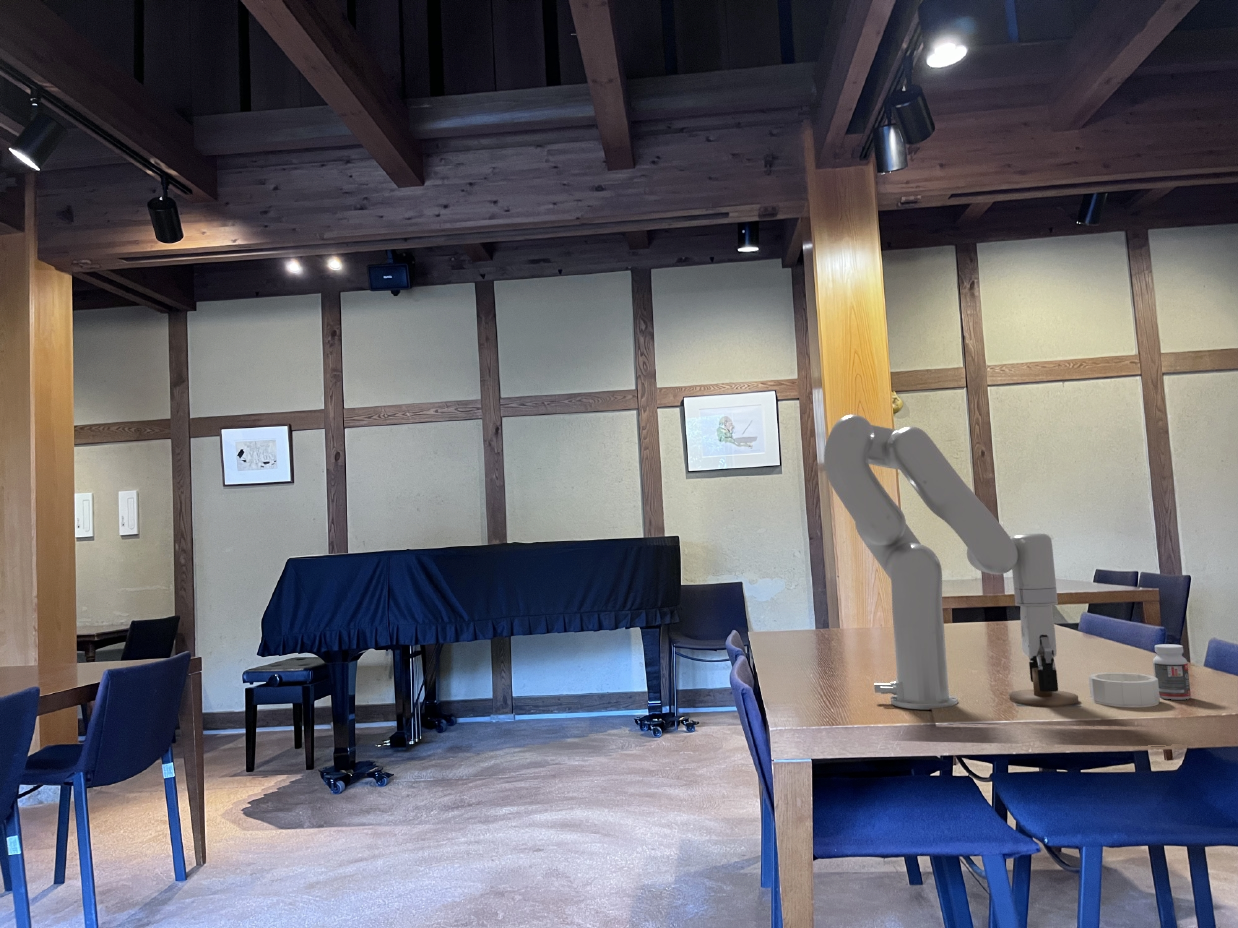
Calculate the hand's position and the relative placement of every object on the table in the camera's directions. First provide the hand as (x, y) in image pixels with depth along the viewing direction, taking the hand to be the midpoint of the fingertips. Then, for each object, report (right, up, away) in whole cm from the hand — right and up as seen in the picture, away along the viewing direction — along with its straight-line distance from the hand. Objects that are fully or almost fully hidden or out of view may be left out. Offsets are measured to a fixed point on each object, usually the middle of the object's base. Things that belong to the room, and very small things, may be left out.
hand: (1044, 686), depth 170 cm
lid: (0, -3, 0) cm, 3 cm away
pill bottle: (+25, -2, 0) cm, 25 cm away
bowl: (+13, -2, -4) cm, 14 cm away
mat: (0, -3, 0) cm, 3 cm away
